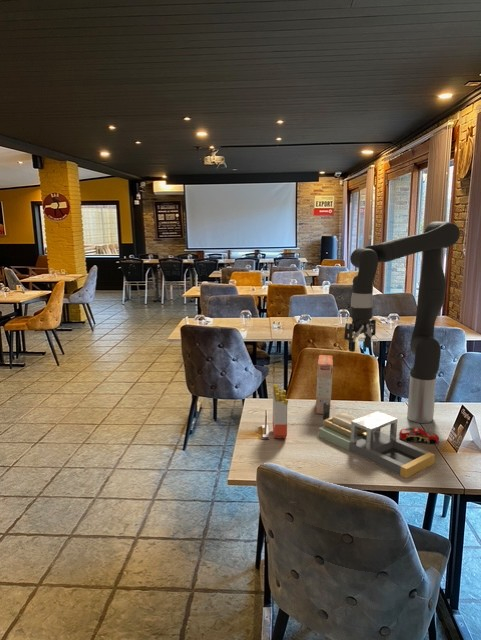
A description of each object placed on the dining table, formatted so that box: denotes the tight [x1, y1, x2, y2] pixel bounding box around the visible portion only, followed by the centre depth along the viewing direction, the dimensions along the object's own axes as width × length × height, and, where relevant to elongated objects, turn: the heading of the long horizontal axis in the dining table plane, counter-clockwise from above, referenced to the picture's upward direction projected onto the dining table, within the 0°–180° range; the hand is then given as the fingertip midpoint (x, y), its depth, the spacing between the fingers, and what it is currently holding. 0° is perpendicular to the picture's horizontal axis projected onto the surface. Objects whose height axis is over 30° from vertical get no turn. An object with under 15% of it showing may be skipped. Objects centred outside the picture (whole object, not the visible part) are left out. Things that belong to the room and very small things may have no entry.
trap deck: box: [318, 425, 436, 479], centre depth 162 cm, size 15×36×3 cm, turn 37°
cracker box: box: [315, 354, 334, 415], centre depth 195 cm, size 14×6×21 cm, turn 168°
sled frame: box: [322, 403, 374, 438], centre depth 170 cm, size 10×22×6 cm, turn 37°
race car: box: [398, 427, 440, 445], centre depth 169 cm, size 13×5×4 cm, turn 76°
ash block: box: [332, 412, 360, 431], centre depth 169 cm, size 6×10×4 cm, turn 37°
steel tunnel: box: [350, 410, 399, 451], centre depth 161 cm, size 14×8×8 cm, turn 127°
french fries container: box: [272, 383, 289, 439], centre depth 171 cm, size 5×11×18 cm, turn 1°
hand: (359, 349), depth 173 cm, fingers open, 8 cm apart
